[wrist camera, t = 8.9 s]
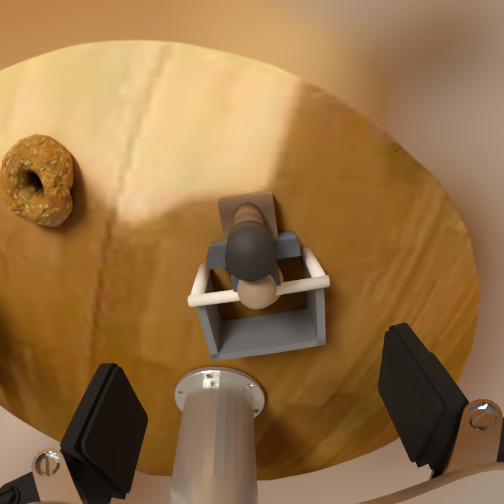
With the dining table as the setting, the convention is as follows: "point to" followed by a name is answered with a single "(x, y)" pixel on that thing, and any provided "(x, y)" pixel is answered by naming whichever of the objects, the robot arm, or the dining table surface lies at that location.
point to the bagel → (25, 185)
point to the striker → (252, 247)
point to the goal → (263, 316)
